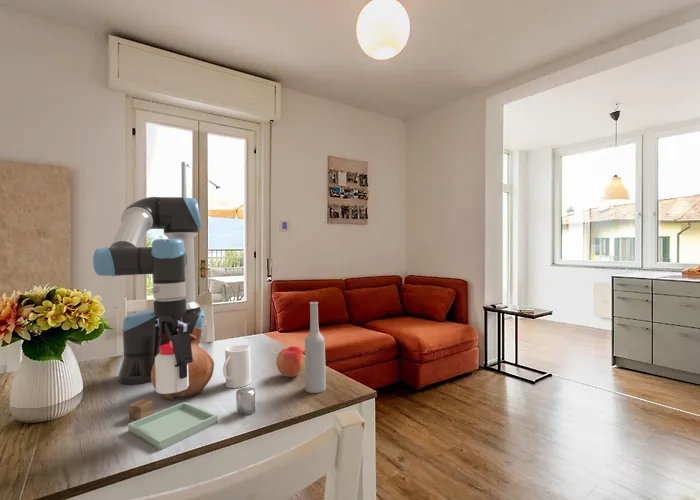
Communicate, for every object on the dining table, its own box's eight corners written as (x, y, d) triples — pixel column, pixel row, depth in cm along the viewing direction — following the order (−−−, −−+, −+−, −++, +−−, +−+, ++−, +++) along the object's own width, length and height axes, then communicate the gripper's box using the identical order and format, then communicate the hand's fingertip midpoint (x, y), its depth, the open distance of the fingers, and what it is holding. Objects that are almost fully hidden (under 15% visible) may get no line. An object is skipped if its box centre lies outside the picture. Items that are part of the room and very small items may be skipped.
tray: (128, 431, 94) (128, 423, 94) (185, 408, 107) (184, 401, 107) (159, 450, 86) (159, 441, 85) (217, 422, 98) (217, 415, 98)
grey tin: (233, 413, 104) (232, 392, 103) (247, 406, 108) (246, 386, 107) (244, 417, 101) (244, 396, 100) (259, 410, 105) (258, 389, 105)
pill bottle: (148, 391, 94) (147, 348, 93) (173, 380, 101) (172, 340, 101) (171, 395, 91) (170, 351, 91) (195, 384, 98) (194, 342, 98)
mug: (233, 393, 117) (232, 356, 117) (212, 389, 120) (211, 353, 120) (256, 380, 128) (256, 345, 127) (237, 377, 131) (236, 343, 131)
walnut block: (129, 420, 101) (128, 405, 101) (141, 413, 105) (140, 399, 104) (141, 421, 100) (140, 407, 100) (152, 415, 103) (152, 400, 103)
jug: (173, 410, 106) (171, 341, 106) (139, 397, 116) (137, 333, 115) (226, 388, 122) (224, 327, 121) (191, 378, 131) (190, 321, 131)
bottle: (317, 394, 115) (315, 304, 114) (301, 390, 118) (299, 303, 118) (330, 387, 120) (328, 301, 120) (314, 383, 124) (312, 300, 123)
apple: (290, 369, 138) (290, 342, 138) (309, 374, 132) (309, 346, 132) (271, 377, 130) (270, 349, 130) (290, 383, 125) (290, 353, 124)
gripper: (135, 298, 98) (138, 383, 99) (177, 304, 86) (180, 401, 87) (163, 294, 104) (165, 374, 105) (206, 299, 93) (209, 390, 93)
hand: (172, 386), depth 96 cm, fingers closed on pill bottle, 8 cm apart
